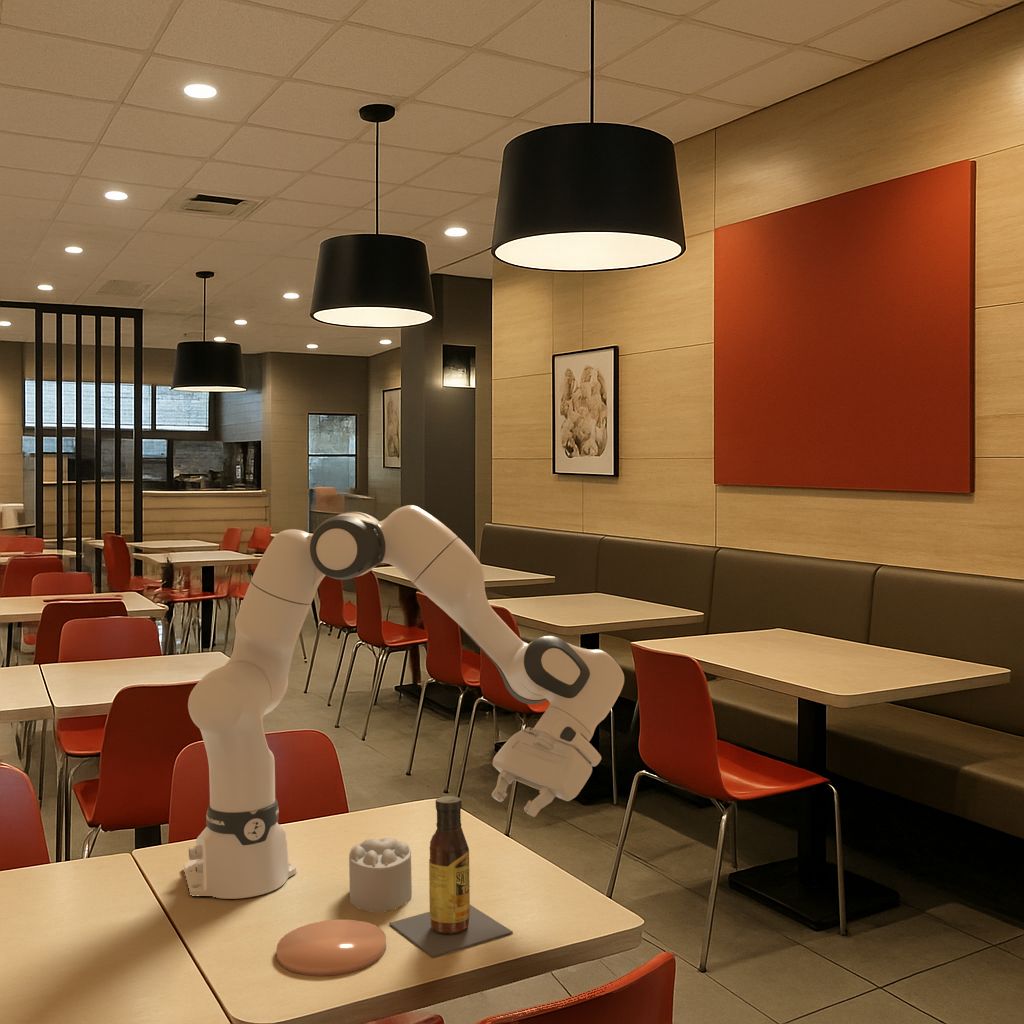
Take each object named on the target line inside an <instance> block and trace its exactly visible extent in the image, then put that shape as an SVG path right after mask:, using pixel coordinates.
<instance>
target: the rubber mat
mask: <svg viewBox="0 0 1024 1024" xmlns="http://www.w3.org/2000/svg"><path fill="white" fill-rule="evenodd" d="M389 926H390V927H391V928H393V929H394V930H395V931H397V932H398V933H399V934H401V935H402V936H404V937H405V938H406V939H408V940H409V941H410V942H411V943H413V944H414V945H415V946H417V947H418V948H419V949H420V950H421V951H423V952H425V953H426V954H427V955H428V956H430V957H431V958H433V959H434V958H438V957H440V956H444V955H449V954H450V953H454V952H456V951H461V950H464V949H467V948H470V947H473V946H476V945H480V944H483V943H487V942H490V941H492V940H496V939H499V938H503V937H505V936H509V935H512V934H513V933H514V932H513V930H511V929H510V928H508V927H506V926H505V925H503V924H502V923H500V922H498V921H497V920H496V919H494V918H492V917H490V916H489V915H487V914H485V913H484V912H483V911H481V910H479V909H478V908H476V907H475V906H473V905H472V904H470V917H469V925H468V927H467V929H465V930H463V931H461V932H458V933H453V934H443V933H438V932H436V931H434V930H433V929H432V928H431V918H430V911H426V912H423V913H419V914H416V915H411V916H409V917H406V918H402V919H398V920H395V921H390V922H389Z"/></svg>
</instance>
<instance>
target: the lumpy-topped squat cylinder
mask: <svg viewBox="0 0 1024 1024" xmlns="http://www.w3.org/2000/svg"><path fill="white" fill-rule="evenodd" d="M348 854H349V855H348V863H349V864H348V867H349V868H348V869H349V873H348V874H349V902H350V903H352V904H351V905H352V906H354V907H355V908H357V909H359V910H361V911H365V912H369V911H370V913H385V912H384V911H387V912H390V911H389V910H391V911H394V910H396V909H395V908H397V907H399V908H401V907H403V906H404V905H406V904H407V903H408V902H410V900H412V895H413V890H412V889H413V886H412V884H413V883H412V881H413V880H412V879H413V878H412V851H411V847H410V846H409V844H408V843H407V842H405V841H402V840H397V839H396V838H394V837H385V838H368V839H365V840H364V841H362V842H360V843H358V844H355V845H353V846H352V847H351V848H350V850H349V853H348ZM407 901H408V902H407ZM406 902H407V903H406ZM405 903H406V904H405ZM403 904H404V905H403ZM402 905H403V906H402ZM400 906H401V907H400ZM393 909H394V910H393ZM397 909H398V908H397Z"/></svg>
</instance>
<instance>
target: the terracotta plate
mask: <svg viewBox="0 0 1024 1024" xmlns="http://www.w3.org/2000/svg"><path fill="white" fill-rule="evenodd" d="M386 948H387V936H386V934H385V931H383V929H381V927H379V926H378V925H375V924H372V923H370V922H367V921H362V920H355V919H329V920H328V919H327V920H322V921H321V920H320V921H315V922H313V923H309V924H305V925H302V926H300V927H297V928H295V929H292V930H291V931H289V932H288V933H285V935H283V937H281V938H280V940H279V941H278V943H277V945H276V960H277V963H280V964H279V965H280V966H281V967H282V968H283V967H284V968H283V969H285V968H286V970H287V971H289V970H290V971H289V972H291V971H292V973H294V972H295V973H294V974H299V975H304V976H311V977H312V976H314V977H315V976H316V977H326V976H336V975H337V976H338V975H344V974H348V973H351V972H356V971H359V970H362V969H364V968H366V967H369V966H371V965H373V964H374V963H375V962H377V961H378V960H379V959H381V958H382V957H383V955H384V954H385V952H386V950H387V949H386Z"/></svg>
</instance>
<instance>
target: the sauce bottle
mask: <svg viewBox="0 0 1024 1024" xmlns="http://www.w3.org/2000/svg"><path fill="white" fill-rule="evenodd" d="M462 804H463V803H462V798H460V797H458V796H454V795H446V796H440V797H437V798H436V799H435V810H436V830H435V832H434V834H433V835H432V837H431V839H430V842H429V860H428V862H429V863H428V864H429V865H428V871H429V872H428V875H429V877H428V878H429V879H428V882H429V887H428V888H429V892H428V893H429V912H430V918H431V928H432V929H433V930H434V931H436V932H438V933H443V934H453V933H458V932H461V931H463V930H465V929H467V927H468V925H469V917H470V905H471V904H470V903H471V900H470V899H471V898H470V897H471V896H470V895H471V893H470V887H471V886H470V885H471V884H470V880H471V879H470V849H469V845H468V842H467V840H466V836H465V834H464V832H463V828H462V820H461V818H462V817H461V815H462V814H461V810H462V806H463V805H462Z"/></svg>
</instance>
